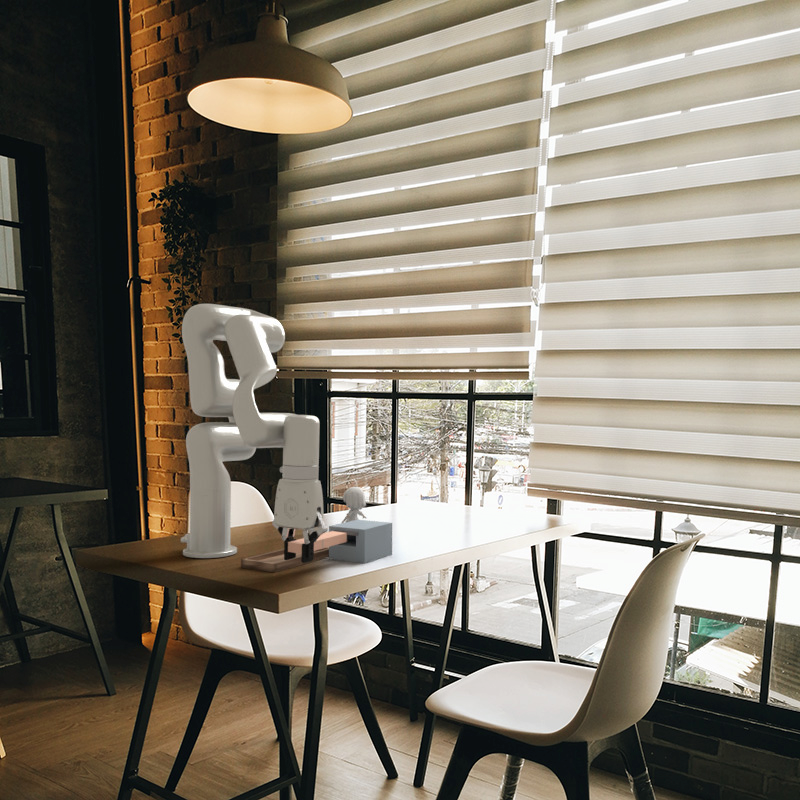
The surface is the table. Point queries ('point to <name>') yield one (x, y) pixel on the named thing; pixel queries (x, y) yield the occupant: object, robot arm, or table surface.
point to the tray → (279, 560)
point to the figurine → (354, 503)
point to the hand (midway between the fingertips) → (298, 559)
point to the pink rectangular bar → (319, 541)
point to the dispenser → (362, 541)
